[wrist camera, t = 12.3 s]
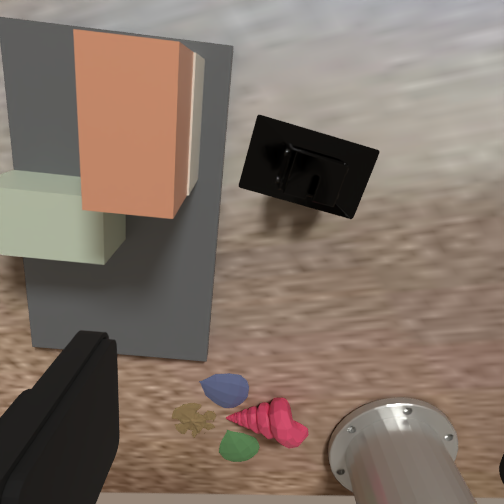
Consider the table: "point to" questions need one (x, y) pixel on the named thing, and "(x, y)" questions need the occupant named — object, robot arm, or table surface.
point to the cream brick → (195, 120)
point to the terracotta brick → (133, 122)
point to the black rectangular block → (307, 167)
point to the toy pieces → (241, 418)
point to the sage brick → (54, 220)
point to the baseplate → (137, 227)
